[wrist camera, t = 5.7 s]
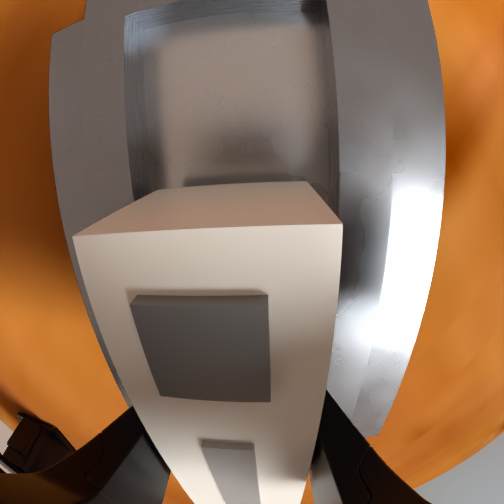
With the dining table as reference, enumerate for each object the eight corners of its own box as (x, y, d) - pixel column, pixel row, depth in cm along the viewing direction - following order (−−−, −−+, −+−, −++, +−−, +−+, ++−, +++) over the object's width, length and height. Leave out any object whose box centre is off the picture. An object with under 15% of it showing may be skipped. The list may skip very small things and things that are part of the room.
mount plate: (374, 420, 14) (383, 454, 12) (148, 418, 15) (136, 451, 13) (413, 9, 7) (446, -15, 4) (68, 40, 8) (28, 27, 5)
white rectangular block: (294, 445, 12) (296, 521, 8) (213, 443, 12) (199, 516, 8) (306, 181, 7) (349, 231, 3) (158, 189, 8) (61, 242, 4)
